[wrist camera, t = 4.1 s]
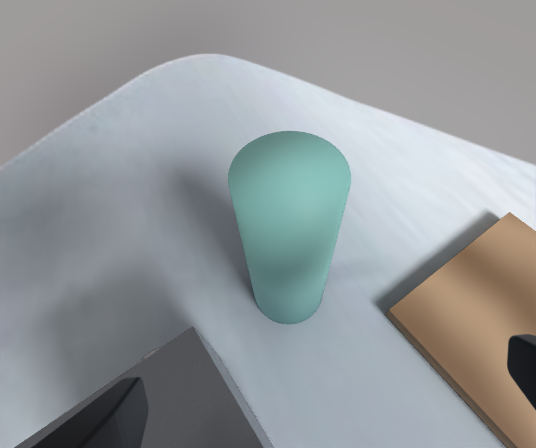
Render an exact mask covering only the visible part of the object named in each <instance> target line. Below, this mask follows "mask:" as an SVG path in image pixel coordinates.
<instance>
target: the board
mask: <svg viewBox="0 0 536 448" xmlns="http://www.w3.org/2000/svg"><path fill="white" fill-rule="evenodd" d="M385 315H386V316H387V317H388V318H389V319H390V321H391V322H392V323H393V324H394V325H395V326H396V327H397V328H398V329H399V330H400V331H401V333H402V334H403V335H404V336H405V337H406V338H407V339H408V340H409V341H410V342H411V343H412V344H413V346H414V347H415V348H416V349H417V350H418V351H419V352H420V353H421V354H422V355H423V356H424V358H425V359H426V360H427V361H428V362H429V363H430V364H431V365H432V366H433V367H434V368H435V369H436V371H437V372H438V373H439V374H440V375H441V376H442V377H443V378H444V379H445V380H446V381H447V383H448V384H449V385H450V386H451V387H452V388H453V389H454V390H455V391H456V392H457V393H458V395H459V396H460V397H461V398H462V399H463V400H464V401H465V402H466V403H467V404H468V405H469V406H470V408H471V409H472V410H473V411H474V412H475V413H476V414H477V415H478V416H479V417H480V418H481V420H482V421H483V422H484V423H485V424H486V425H487V426H488V427H489V428H490V429H491V430H492V431H493V433H494V434H495V435H496V436H497V437H498V438H499V439H500V440H501V441H502V442H503V443H504V445H505V446H506V447H507V448H536V410H535V409H534V408H533V406H532V405H531V404H530V402H529V401H528V399H527V398H526V397H525V395H524V394H523V393H522V391H521V390H520V388H519V387H518V386H517V384H516V383H515V382H514V380H513V379H512V377H511V376H510V374H509V372H508V369H507V354H508V341H509V338H510V337H511V336H513V335H520V334H532V335H535V336H536V231H535V230H533V229H532V228H531V227H529V226H528V225H526V224H525V223H524V222H522V221H521V220H520V219H518V218H517V217H516V216H514V215H513V214H511V213H510V212H509V213H508V214H507V215H505V216H504V217H503V218H502V219H500V220H499V221H498V222H497V223H495V224H494V225H493V226H492V227H490V228H489V229H488V230H487V231H486V232H484V233H483V234H482V235H481V236H479V237H478V238H477V239H476V240H474V241H473V242H472V243H471V244H469V245H468V246H467V247H466V248H465V249H463V250H462V251H461V252H460V253H458V254H457V255H456V256H455V257H453V258H452V259H451V260H450V261H448V262H447V263H446V264H445V265H443V266H442V267H441V268H440V269H439V270H437V271H436V272H435V273H434V274H432V275H431V276H430V277H429V278H427V279H426V280H425V281H424V282H422V283H421V284H420V285H419V286H418V287H416V288H415V289H414V290H413V291H411V292H410V293H409V294H408V295H406V296H405V297H404V298H403V299H401V300H400V301H399V302H398V303H396V304H395V305H394V306H393V307H392V308H390V309H389V310H388V311H387V313H386V314H385Z"/></svg>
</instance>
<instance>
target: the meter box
mask: <svg viewBox="0 0 536 448" xmlns="http://www.w3.org/2000/svg"><path fill="white" fill-rule="evenodd" d="M136 376H139V377H141V378H142V380H143V382H144V387H145V392H146V396H147V401H148V408H149V410H148V418H147V422H146V426H145V431H144V435H143V439H142V444H141V448H274V447H273V446H272V444H271V442H270V441H269V439H268V437H267V435H266V434H265V432H264V430H263V429H262V427H261V425H260V424H259V422H258V420H257V419H256V417H255V415H254V414H253V412H252V410H251V409H250V407H249V405H248V404H247V402H246V400H245V399H244V397H243V395H242V394H241V392H240V390H239V389H238V387H237V385H236V384H235V382H234V380H233V379H232V377H231V375H230V374H229V372H228V370H227V369H226V367H225V365H224V364H223V362H222V360H221V358H220V357H219V356H218V355H217V354H216V352H215V351H214V350H213V349H212V348H211V347H210V345H209V344H208V343H207V342H206V341H205V340H204V339H203V337H202V336H201V335H200V334H199V333H198V332H197V330H196V329H195V328H194V327H191V328H190V329H189V330H187V331H186V332H184V333H183V334H181V335H180V336H178V337H177V338H175V339H174V340H172V341H171V342H169V343H168V344H166V345H165V346H163V347H160V348H157V349H155V350H153V351H151V352H149V353H148V354H146V355H145V356H144V357H142V358H141V359H140V360H139V362H138V363H137V365H135V366H134V367H132V368H131V369H130V370H128V371H127V372H125V373H124V374H122V375H121V376H119V377H118V378H116V379H115V380H113V381H112V382H110V383H109V384H107V385H106V386H104V387H103V388H102V389H100V390H99V391H97V392H96V393H94V394H93V395H91V396H90V397H88V398H87V399H85V400H84V401H82V402H81V403H79V404H78V405H76V406H75V407H73V408H72V409H71V410H69V411H68V412H66V413H65V414H63V415H62V416H60V417H59V418H57V419H56V420H54V421H53V422H51V423H50V424H48V425H47V426H45V427H44V428H42V429H41V430H40V431H38V432H37V433H35V434H34V435H32V436H31V437H29V438H28V439H26V440H25V441H23V442H22V443H20V444H19V445H17V446H16V447H14V448H31V447H32V446H34V445H35V444H36V443H38V442H39V441H40V440H42V439H43V438H44V437H46V436H47V435H48V434H50V433H51V432H52V431H54V430H55V429H56V428H58V427H59V426H60V425H62V424H63V423H64V422H66V421H67V420H68V419H70V418H71V417H72V416H74V415H75V414H76V413H77V412H79V411H80V410H81V409H83V408H84V407H85V406H87V405H88V404H89V403H91V402H92V401H93V400H95V399H96V398H97V397H99V396H100V395H101V394H103V393H104V392H105V391H107V390H108V389H109V388H111V387H112V386H113V385H115V384H116V383H117V382H119V381H120V380H121V379H123V378H127V377H136Z"/></svg>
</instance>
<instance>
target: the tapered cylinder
mask: <svg viewBox="0 0 536 448" xmlns="http://www.w3.org/2000/svg"><path fill="white" fill-rule="evenodd" d="M228 184H229V189H230V194H231V198H232V202H233V206H234V211H235V215H236V219H237V224H238V228H239V232H240V236H241V241H242V245H243V249H244V254H245V258H246V262H247V266H248V271H249V275H250V279H251V283H252V288H253V292H254V296H255V300H256V303H257V305H258V307H259V309H260V310H261V311H262V313H263V314H264V315H265V316H267V317H268V318H269V319H271V320H273V321H275V322H278V323H282V324H296V323H299V322H302V321H304V320H306V319H308V318H309V317H311V316H312V315H313V314H314V313H315V312H316V310H317V309H318V307H319V305H320V303H321V299H322V295H323V291H324V287H325V284H326V280H327V276H328V272H329V268H330V264H331V260H332V256H333V252H334V248H335V244H336V240H337V236H338V232H339V228H340V224H341V220H342V217H343V213H344V209H345V205H346V201H347V197H348V193H349V189H350V184H351V172H350V168H349V165H348V162H347V161H346V159H345V157H344V156H343V154H342V153H341V152H340V151H339V150H338V149H337V148H336V147H335V146H334V145H332V144H331V143H330V142H328V141H326V140H325V139H323V138H321V137H318V136H316V135H313V134H309V133H305V132H297V131H282V132H275V133H271V134H267V135H264V136H262V137H259V138H257V139H255V140H253V141H252V142H250V143H248V144H247V145H246V146H245V147H243V148H242V149H241V150H240V151H239V152H238V154H237V155H236V156H235V158H234V160H233V161H232V163H231V166H230V169H229V173H228Z"/></svg>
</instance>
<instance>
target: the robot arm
mask: <svg viewBox="0 0 536 448" xmlns="http://www.w3.org/2000/svg"><path fill="white" fill-rule="evenodd" d="M507 369H508V372H509V374H510V376H511V377H512V379H513V380H514V382H515V383H516V384H517V386H518V387H519V388H520V390H521V391H522V393H523V394H524V395H525V397H526V398H527V399H528V401H529V402H530V404H531V405H532V406H533V408H534V409H535V410H536V336H535V335H532V334H520V335H513V336H511V337H510V338H509V341H508V354H507ZM148 410H149V408H148V401H147V396H146V392H145V387H144V382H143V380H142V378H141V377H139V376H136V377H127V378H123V379H121V380H120V381H119V382H117V383H116V384H115V385H113V386H112V387H111V388H109V389H108V390H107V391H105V392H104V393H103V394H101V395H100V396H99V397H97V398H96V399H95V400H93V401H92V402H91V403H89V404H88V405H87V406H85V407H84V408H83V409H81V410H80V411H79V412H77V413H76V414H75V415H74V416H72V417H71V418H70V419H68V420H67V421H66V422H64V423H63V424H62V425H60V426H59V427H58V428H56V429H55V430H54V431H52V432H51V433H50V434H48V435H47V436H46V437H44V438H43V439H42V440H40V441H39V442H38V443H36V444H35V445H34V446H32V447H31V448H141V444H142V439H143V435H144V431H145V426H146V422H147V418H148Z"/></svg>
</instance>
